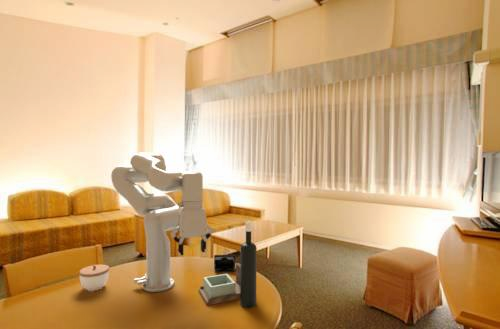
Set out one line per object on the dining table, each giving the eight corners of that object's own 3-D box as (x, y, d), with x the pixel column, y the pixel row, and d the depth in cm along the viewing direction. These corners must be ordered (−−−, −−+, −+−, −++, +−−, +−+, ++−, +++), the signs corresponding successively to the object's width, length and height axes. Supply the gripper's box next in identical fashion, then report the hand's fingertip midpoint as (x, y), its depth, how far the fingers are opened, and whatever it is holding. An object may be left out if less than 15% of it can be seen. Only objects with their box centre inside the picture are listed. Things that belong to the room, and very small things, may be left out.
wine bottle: (244, 309, 102) (245, 223, 101) (237, 302, 107) (238, 220, 106) (259, 305, 104) (259, 222, 104) (251, 298, 110) (251, 219, 109)
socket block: (210, 299, 106) (210, 287, 106) (203, 288, 115) (203, 277, 115) (235, 294, 110) (235, 282, 110) (226, 284, 119) (226, 273, 119)
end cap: (235, 266, 143) (235, 253, 142) (235, 272, 136) (235, 257, 135) (214, 267, 142) (214, 253, 142) (213, 272, 135) (213, 258, 135)
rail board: (207, 305, 105) (207, 280, 104) (198, 291, 116) (198, 268, 115) (250, 296, 111) (250, 273, 111) (238, 284, 122) (238, 262, 122)
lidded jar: (82, 296, 111) (82, 272, 111) (76, 287, 119) (76, 264, 119) (112, 288, 118) (112, 265, 118) (105, 280, 126) (105, 258, 126)
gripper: (169, 208, 101) (169, 259, 101) (217, 205, 108) (217, 252, 108) (166, 205, 108) (166, 252, 108) (212, 202, 115) (212, 247, 115)
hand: (192, 252), depth 108 cm, fingers open, 7 cm apart
